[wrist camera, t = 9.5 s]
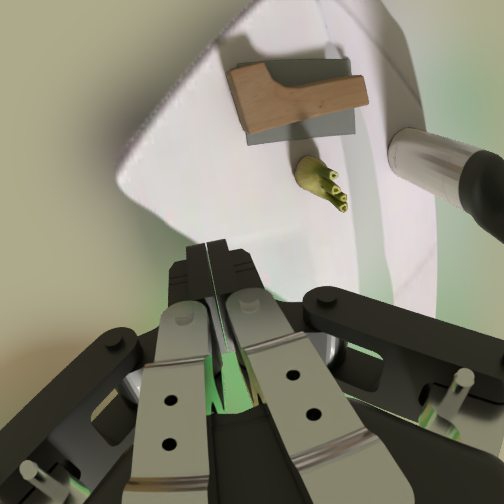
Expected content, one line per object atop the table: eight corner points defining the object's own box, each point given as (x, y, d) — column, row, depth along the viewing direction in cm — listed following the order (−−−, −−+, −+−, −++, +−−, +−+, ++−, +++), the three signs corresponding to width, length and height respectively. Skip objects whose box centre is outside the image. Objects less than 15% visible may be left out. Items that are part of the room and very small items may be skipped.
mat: (348, 59, 41) (350, 59, 41) (354, 133, 47) (355, 134, 46) (237, 63, 39) (237, 63, 39) (247, 145, 45) (248, 145, 44)
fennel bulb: (293, 151, 47) (326, 169, 36) (324, 153, 48) (362, 172, 37) (290, 188, 49) (320, 216, 39) (319, 189, 50) (355, 216, 40)
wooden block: (229, 69, 35) (356, 44, 36) (224, 72, 39) (342, 47, 40) (249, 135, 39) (370, 104, 40) (243, 132, 43) (355, 102, 44)
